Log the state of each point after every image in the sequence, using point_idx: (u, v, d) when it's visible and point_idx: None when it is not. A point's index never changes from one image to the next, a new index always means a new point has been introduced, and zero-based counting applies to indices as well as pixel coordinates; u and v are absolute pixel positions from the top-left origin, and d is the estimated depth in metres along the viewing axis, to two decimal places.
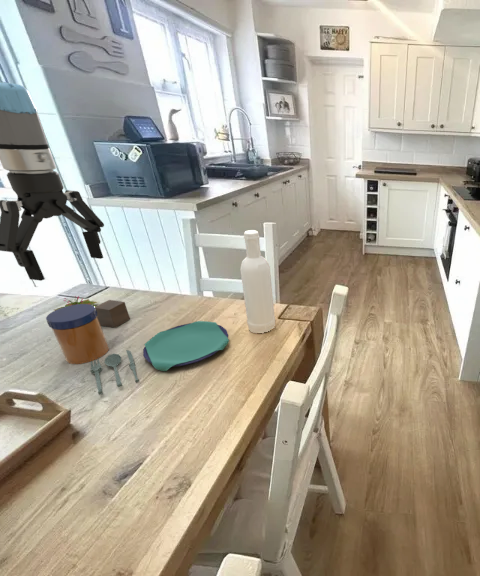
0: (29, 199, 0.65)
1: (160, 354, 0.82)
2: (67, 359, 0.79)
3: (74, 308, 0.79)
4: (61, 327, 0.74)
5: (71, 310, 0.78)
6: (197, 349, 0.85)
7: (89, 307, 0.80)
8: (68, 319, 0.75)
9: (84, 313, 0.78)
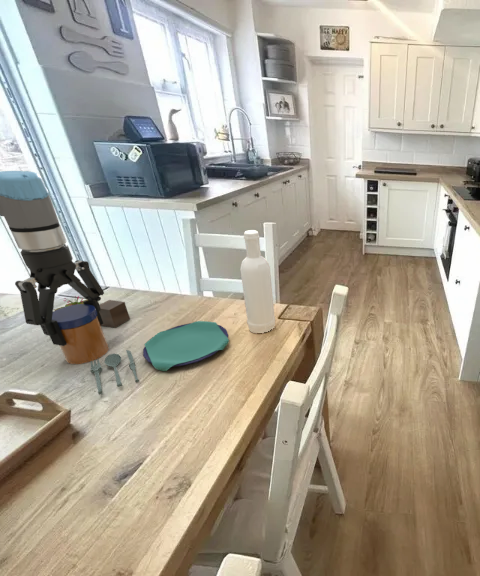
0: None
1: (160, 354, 0.82)
2: (67, 359, 0.79)
3: (74, 308, 0.79)
4: (61, 327, 0.74)
5: (71, 310, 0.78)
6: (197, 349, 0.85)
7: (89, 307, 0.80)
8: (68, 319, 0.75)
9: (84, 313, 0.78)
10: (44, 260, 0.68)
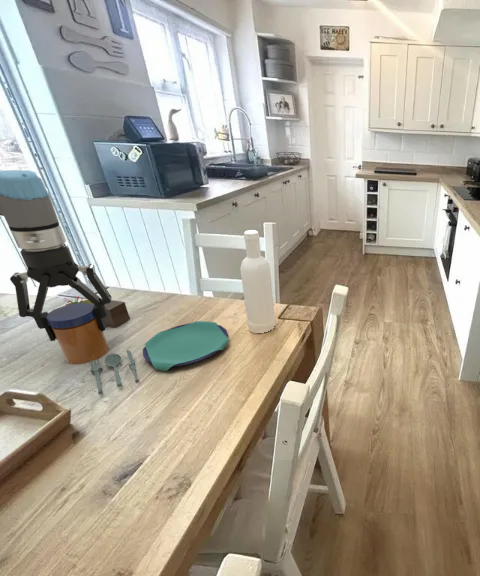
0: (31, 271, 0.70)
1: (160, 354, 0.82)
2: (67, 359, 0.79)
3: (59, 315, 0.76)
4: None
5: (65, 313, 0.76)
6: (197, 349, 0.85)
7: (56, 310, 0.77)
8: (86, 305, 0.80)
9: (71, 306, 0.80)
10: None
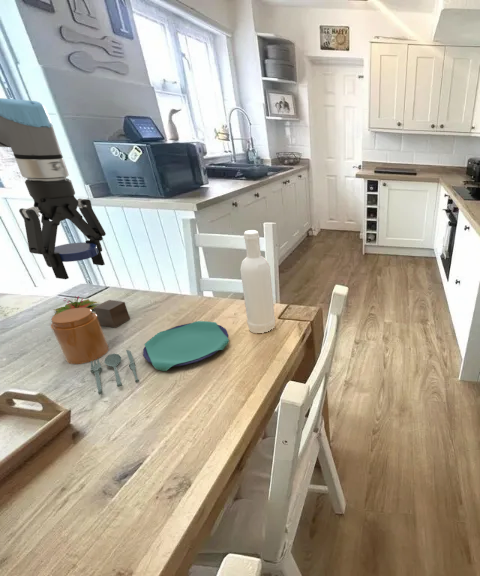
0: (44, 204, 0.72)
1: (160, 354, 0.82)
2: (67, 359, 0.79)
3: (69, 250, 0.78)
4: None
5: (72, 249, 0.79)
6: (197, 349, 0.85)
7: None
8: (76, 243, 0.82)
9: (60, 246, 0.80)
10: None
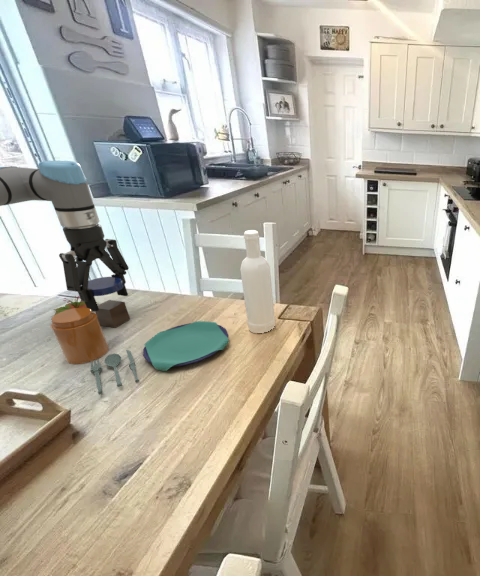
0: (80, 248, 0.82)
1: (160, 354, 0.82)
2: (67, 359, 0.79)
3: (99, 285, 0.89)
4: None
5: (102, 284, 0.90)
6: (197, 349, 0.85)
7: None
8: (103, 278, 0.93)
9: (90, 282, 0.90)
10: None
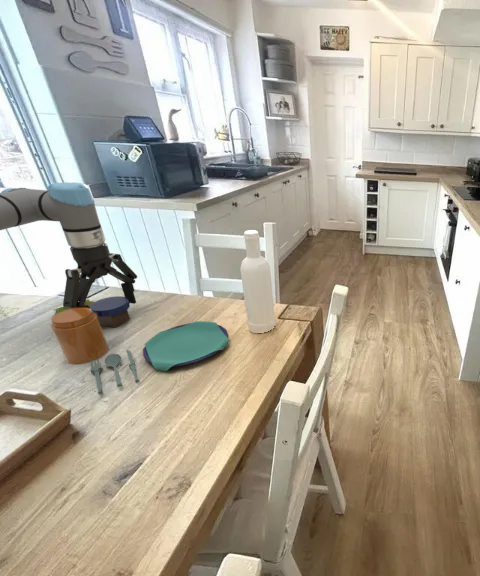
0: (86, 266, 0.85)
1: (160, 354, 0.82)
2: (67, 359, 0.79)
3: (106, 306, 0.91)
4: None
5: (109, 304, 0.92)
6: (197, 349, 0.85)
7: (94, 307, 0.91)
8: (110, 298, 0.96)
9: (98, 302, 0.93)
10: None
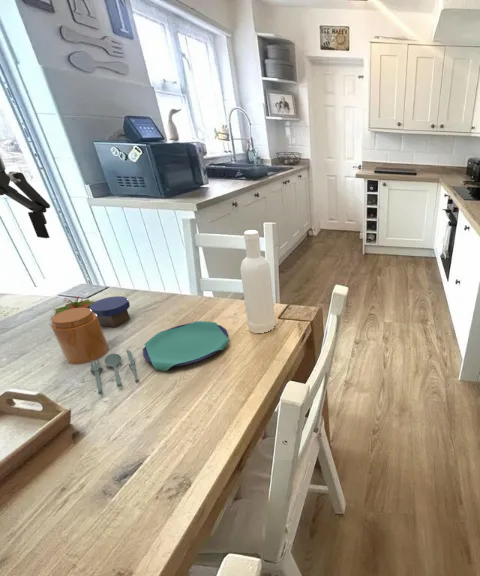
0: None
1: (160, 354, 0.82)
2: (67, 359, 0.79)
3: (106, 306, 0.91)
4: None
5: (109, 304, 0.92)
6: (197, 349, 0.85)
7: (94, 307, 0.91)
8: (110, 298, 0.96)
9: (98, 302, 0.93)
10: None
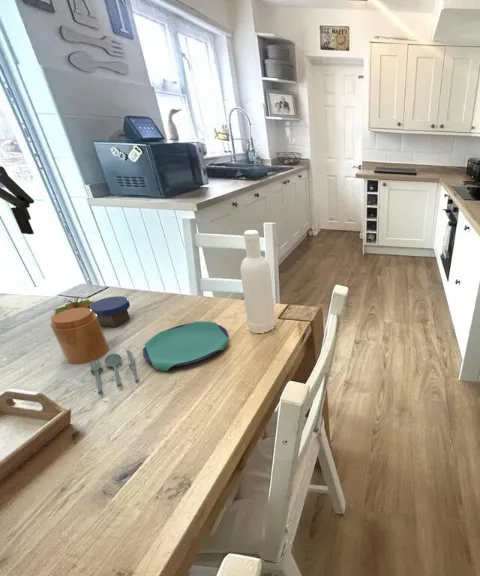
0: None
1: (160, 354, 0.82)
2: (67, 359, 0.79)
3: (106, 306, 0.91)
4: None
5: (109, 304, 0.92)
6: (197, 349, 0.85)
7: (94, 307, 0.91)
8: (110, 298, 0.96)
9: (98, 302, 0.93)
10: None
